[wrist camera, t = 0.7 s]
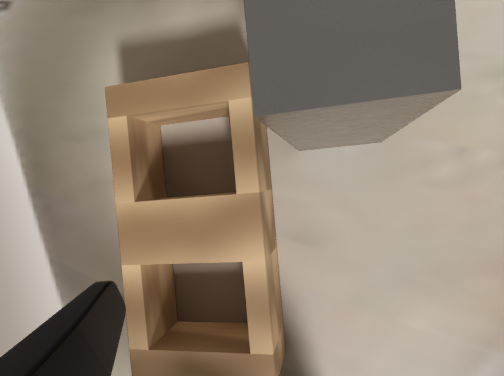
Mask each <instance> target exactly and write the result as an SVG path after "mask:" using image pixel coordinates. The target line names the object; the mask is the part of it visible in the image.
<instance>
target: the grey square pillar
mask: <svg viewBox="0 0 504 376" xmlns="http://www.w3.org/2000/svg"><path fill="white" fill-rule="evenodd" d="M244 7H245V19H246V31H247V42H248V54H249V65H250V77H251V89H252V100H253V112H254V117H255V118H256V119H258V120H259V121H260V122H262V123H263V124H264V125H266V126H267V127H268V128H270V129H271V130H272V131H274V132H275V133H276V134H278V135H279V136H280V137H282V138H283V139H284V140H286V141H287V142H288V143H290V144H291V145H292V146H294V147H295V148H296V149H298V150H299V151H302V150H312V149H321V148H331V147H340V146H350V145H359V144H369V143H378V142H382V141H383V140H385V139H386V138H388V137H389V136H391V135H393V134H394V133H396V132H397V131H399V130H400V129H402V128H403V127H405V126H406V125H408V124H409V123H411V122H412V121H414V120H415V119H417V118H418V117H420V116H421V115H423V114H424V113H426V112H427V111H429V110H430V109H432V108H433V107H435V106H436V105H438V104H439V103H441V102H442V101H444V100H446V99H447V98H449V97H450V96H452V95H453V94H455V93H456V92H458V91H459V90H461V78H460V64H459V51H458V37H457V24H456V10H455V0H244Z"/></svg>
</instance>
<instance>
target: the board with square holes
mask: <svg viewBox="0 0 504 376" xmlns="http://www.w3.org/2000/svg"><path fill="white" fill-rule="evenodd" d="M105 95H106V106H107V117H108V127H109V138H110V149H111V159H112V170H113V181H114V191H115V202H116V212H117V223H118V234H119V244H120V255H121V266H122V276H123V287H124V298H125V306H126V319H127V330H128V340H129V351H130V361H131V372H132V376H280V372H281V368H282V364H283V360H284V356H285V352H286V348H285V337H284V325H283V313H282V301H281V290H280V278H279V266H278V254H277V243H276V231H275V219H274V207H273V196H272V184H271V172H270V160H269V149H268V137H267V126H266V125H264V124H263V123H262V122H260V121H259V120H258V119H256V118H255V117H254V112H253V100H252V89H251V77H250V65H249V63H248V62H246V63H240V64H234V65H229V66H223V67H217V68H211V69H206V70H200V71H194V72H188V73H183V74H177V75H171V76H165V77H160V78H154V79H148V80H142V81H137V82H131V83H125V84H119V85H113V86H108V87H105ZM224 116H230V125H231V136H232V148H233V159H234V171H235V182H236V192H231V193H219V194H206V195H194V196H181V197H169V198H167V197H166V186H165V175H164V164H163V153H162V142H161V131H160V125H166V124H173V123H180V122H188V121H195V120H202V119H210V118H217V117H224ZM220 262H242V263H243V274H244V286H245V297H246V309H247V320H248V323H238V322H178V318H177V307H176V296H175V285H174V274H173V264H185V263H220Z"/></svg>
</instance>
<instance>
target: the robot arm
mask: <svg viewBox="0 0 504 376" xmlns="http://www.w3.org/2000/svg"><path fill="white" fill-rule="evenodd" d="M125 313H126V306H125V302H124V300H123V298H122V296H121V294H120V292H119V290H118V288H117V286H116V284H115V283H114V282H113V281H99V282H95V283H94V284H92V285H91V286H90V287H88V288H87V289H86V290H85V291H83V292H82V293H81V294H80V295H78V296H77V297H76V298H75V299H73V300H72V301H71V302H70V303H68V304H67V305H66V306H64V307H63V308H62V309H61V310H59V311H58V312H57V313H56V314H54V315H53V316H52V317H51V318H49V319H48V320H47V321H46V322H44V323H43V324H42V325H41V326H39V327H38V328H37V329H36V330H34V331H33V332H32V333H31V334H29V335H28V336H27V337H26V338H24V339H23V340H22V341H21V342H19V343H18V344H17V345H15V346H14V347H13V348H12V349H10V350H9V351H8V352H7V353H5V354H4V355H3V356H2V357H0V376H111V373H112V369H113V365H114V361H115V356H116V352H117V348H118V344H119V339H120V335H121V331H122V327H123V322H124V318H125Z"/></svg>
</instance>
